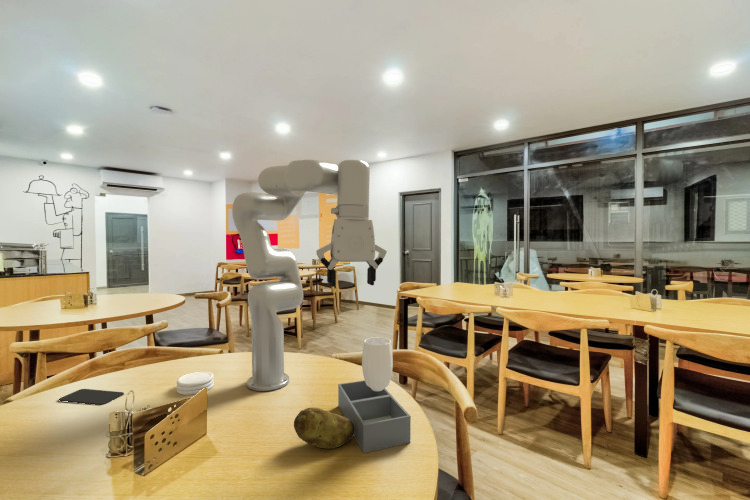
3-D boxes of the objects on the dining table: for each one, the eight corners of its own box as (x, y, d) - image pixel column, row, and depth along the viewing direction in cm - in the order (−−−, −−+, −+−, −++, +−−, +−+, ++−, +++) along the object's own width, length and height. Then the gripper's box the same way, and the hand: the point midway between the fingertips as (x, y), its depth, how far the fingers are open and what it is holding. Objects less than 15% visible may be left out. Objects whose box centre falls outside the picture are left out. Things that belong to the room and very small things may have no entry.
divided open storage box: (338, 405, 95) (338, 384, 95) (376, 399, 99) (376, 378, 99) (363, 452, 75) (363, 425, 74) (410, 442, 78) (410, 416, 78)
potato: (351, 457, 73) (350, 419, 73) (290, 455, 74) (289, 417, 74) (355, 434, 81) (355, 400, 81) (300, 433, 82) (300, 399, 82)
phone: (102, 404, 95) (55, 399, 98) (102, 407, 95) (56, 402, 98) (126, 392, 103) (81, 388, 105) (126, 395, 103) (82, 391, 105)
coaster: (215, 380, 113) (215, 369, 113) (211, 393, 104) (211, 381, 103) (180, 384, 110) (180, 373, 110) (173, 398, 100) (173, 386, 100)
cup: (374, 417, 87) (374, 334, 86) (399, 427, 82) (399, 339, 82) (355, 430, 81) (355, 341, 80) (381, 441, 77) (381, 347, 76)
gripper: (320, 211, 77) (319, 289, 78) (392, 214, 83) (390, 286, 84) (313, 213, 84) (312, 284, 85) (381, 215, 90) (379, 281, 91)
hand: (351, 285), depth 84 cm, fingers open, 9 cm apart
